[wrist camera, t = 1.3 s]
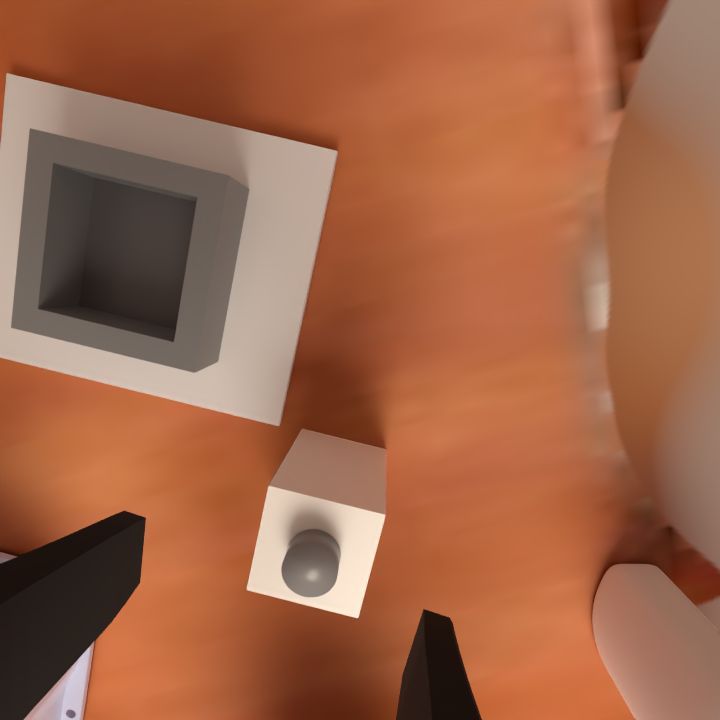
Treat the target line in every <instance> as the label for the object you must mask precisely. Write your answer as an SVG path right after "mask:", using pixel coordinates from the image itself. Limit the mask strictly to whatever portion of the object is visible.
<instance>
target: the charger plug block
mask: <svg viewBox="0 0 720 720" xmlns="http://www.w3.org/2000/svg"><path fill="white" fill-rule="evenodd" d="M385 516H386V449H383V448H379V447H375V446H371V445H367V444H363V443H359V442H355V441H351V440H347V439H343V438H339V437H335V436H331V435H327V434H323V433H319V432H315V431H310V430H306V429H301V431H300V433H299V435H298V436H297V438H296V440H295V441H294V443H293V445H292V447H291V448H290V450H289V452H288V453H287V455H286V457H285V459H284V460H283V462H282V464H281V465H280V467H279V469H278V471H277V472H276V474H275V476H274V477H273V479H272V481H271V483H270V484H269V486H268V491H267V496H266V501H265V505H264V510H263V515H262V519H261V524H260V529H259V533H258V538H257V543H256V547H255V552H254V557H253V561H252V566H251V571H250V576H249V580H248V585H247V590H248V591H252V592H256V593H260V594H264V595H268V596H272V597H276V598H280V599H284V600H288V601H292V602H295V603H299V604H303V605H307V606H311V607H315V608H319V609H323V610H327V611H331V612H335V613H339V614H343V615H347V616H351V617H355V618H358V617H359V613H360V609H361V606H362V602H363V598H364V595H365V591H366V587H367V583H368V580H369V576H370V572H371V568H372V565H373V561H374V557H375V553H376V550H377V546H378V542H379V538H380V535H381V531H382V527H383V524H384V520H385Z"/></svg>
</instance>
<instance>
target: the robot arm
mask: <svg viewBox="0 0 720 720" xmlns="http://www.w3.org/2000/svg"><path fill="white" fill-rule="evenodd" d="M145 521H146V518H145V517H142V516H139V515H136V514H133V513H130V512H127V511H123V512H120V513H118V514H115V515H113V516H110V517H108V518H106V519H104V520H101V521H99V522H97V523H94V524H92V525H90V526H88V527H85V528H83V529H81V530H79V531H77V532H74V533H72V534H70V535H68V536H65V537H63V538H61V539H58V540H56V541H54V542H51V543H49V544H47V545H44V546H42V547H40V548H38V549H35V550H33V551H31V552H28V553H26V554H23V555H21V556H18V557H17V556H13V555H9V554H6V553H2V552H0V720H83V717H84V710H85V703H86V696H87V689H88V683H89V676H90V669H91V662H92V656H93V649H94V642H95V640H96V639H97V638H98V637H99V636H100V634H101V633H102V632H103V631H104V630H105V629H106V628H107V627H108V625H109V624H110V623H111V622H112V621H113V619H114V618H115V617H116V615H117V614H118V613H119V611H120V610H121V609H122V607H123V606H124V605H125V603H126V602H127V600H128V599H129V597H130V596H131V595H132V593H133V592H134V590H135V589H136V588H137V586H138V585H139V583H140V577H141V566H142V555H143V543H144V532H145ZM396 720H482V719H481V716H480V713H479V710H478V707H477V705H476V702H475V699H474V696H473V693H472V690H471V687H470V684H469V681H468V678H467V674H466V671H465V668H464V664H463V661H462V658H461V654H460V651H459V647H458V643H457V639H456V635H455V631H454V627H453V623H452V621H451V619H450V618H449V617H446V616H443V615H440V614H437V613H434V612H431V611H428V610H423V613H422V616H421V619H420V622H419V625H418V629H417V632H416V635H415V638H414V641H413V644H412V647H411V651H410V654H409V657H408V660H407V663H406V666H405V669H404V672H403V677H402V683H401V690H400V697H399V703H398V710H397V717H396Z"/></svg>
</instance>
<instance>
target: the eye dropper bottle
mask: <svg viewBox="0 0 720 720" xmlns="http://www.w3.org/2000/svg"><path fill="white" fill-rule="evenodd" d="M592 625H593V633H594V638H595V642H596V646H597V649H598V652H599V654H600V657H601V659H602V661H603V663H604V665H605V667H606V669H607V671H608V672H609V674H610V676H611V678H612V679H613V681H614V683H615V685H616V686H617V688H618V690H619V692H620V693H621V695H622V697H623V699H624V701H625V702H626V704H627V706H628V708H629V709H630V711H631V713H632V715H633V716H634V718H635V720H720V632H719V631H718V629H717V628H715V626H714V625H713V624H712V623H711V622H710V621H709V620H708V619H707V618H706V617H705V616H704V615H703V614H702V613H701V612H700V610H699V609H698V608H697V607H696V606H695V605H694V604H693V603H692V602H691V601H690V600H689V599H688V598H687V597H686V596H685V595H684V594H683V593H682V592H681V590H680V589H679V588H678V587H677V586H676V585H675V584H674V583H673V582H672V581H671V580H670V579H669V578H668V577H667V576H666V575H665V574H664V573H663V572H662V571H661V570H660V569H659V568H658V567H657V566H654V565H650V564H617V565H613V566H611V567H610V568H609V569H608V570H607V571H606V573H605V574H604V576H603V578H602V580H601V582H600V585H599V587H598V590H597V592H596V596H595V600H594V604H593V613H592Z"/></svg>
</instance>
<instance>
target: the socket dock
mask: <svg viewBox="0 0 720 720" xmlns="http://www.w3.org/2000/svg"><path fill="white" fill-rule="evenodd" d="M337 157H338V151H336V150H332V149H327V148H323V147H319V146H314V145H310V144H306V143H302V142H297V141H293V140H289V139H285V138H280V137H276V136H272V135H268V134H263V133H259V132H255V131H251V130H246V129H242V128H238V127H234V126H229V125H225V124H221V123H217V122H212V121H208V120H204V119H200V118H195V117H191V116H187V115H183V114H178V113H174V112H170V111H166V110H161V109H157V108H153V107H148V106H144V105H140V104H136V103H131V102H127V101H123V100H119V99H114V98H110V97H106V96H102V95H97V94H93V93H89V92H85V91H80V90H76V89H72V88H68V87H63V86H59V85H55V84H51V83H46V82H42V81H38V80H34V79H29V78H25V77H21V76H17V75H12V74H8V73H7V75H6V87H5V99H4V111H3V123H2V134H1V146H0V358H4V359H8V360H12V361H16V362H20V363H24V364H28V365H33V366H37V367H41V368H45V369H49V370H53V371H57V372H61V373H65V374H69V375H73V376H77V377H81V378H85V379H89V380H93V381H97V382H101V383H105V384H109V385H114V386H118V387H122V388H126V389H130V390H134V391H138V392H142V393H146V394H150V395H154V396H158V397H162V398H166V399H170V400H174V401H178V402H182V403H186V404H191V405H195V406H199V407H203V408H207V409H211V410H215V411H219V412H223V413H227V414H231V415H235V416H239V417H243V418H247V419H251V420H255V421H259V422H263V423H267V424H272V425H276V426H279V425H280V424H281V421H282V416H283V411H284V406H285V402H286V397H287V392H288V388H289V383H290V378H291V374H292V369H293V364H294V359H295V355H296V350H297V345H298V341H299V336H300V331H301V327H302V322H303V317H304V313H305V308H306V303H307V298H308V294H309V289H310V284H311V280H312V275H313V270H314V266H315V261H316V256H317V251H318V247H319V242H320V237H321V233H322V228H323V223H324V219H325V214H326V209H327V204H328V200H329V195H330V190H331V186H332V181H333V176H334V172H335V167H336V162H337Z"/></svg>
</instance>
